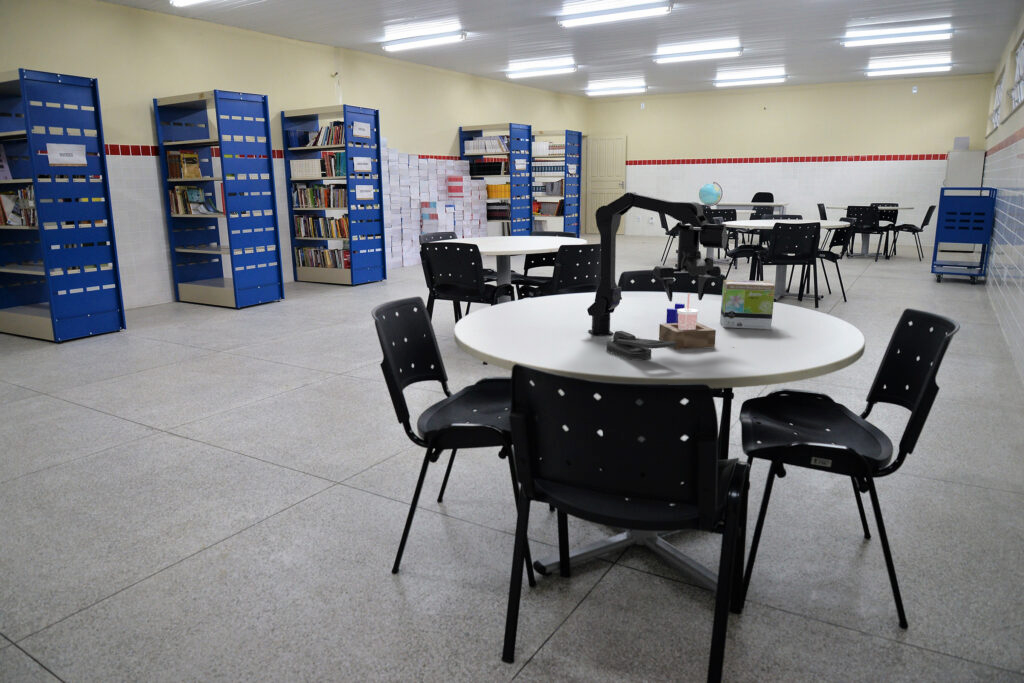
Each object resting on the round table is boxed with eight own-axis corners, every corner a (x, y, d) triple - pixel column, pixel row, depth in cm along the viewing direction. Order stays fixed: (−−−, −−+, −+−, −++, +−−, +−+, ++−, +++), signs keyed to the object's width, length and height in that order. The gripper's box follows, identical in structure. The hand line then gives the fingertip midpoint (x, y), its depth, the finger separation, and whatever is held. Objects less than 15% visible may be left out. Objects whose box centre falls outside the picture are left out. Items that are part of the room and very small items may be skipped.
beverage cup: (698, 338, 201) (701, 292, 198) (694, 343, 196) (697, 295, 192) (677, 337, 204) (680, 291, 200) (673, 341, 198) (675, 294, 195)
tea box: (723, 328, 220) (726, 283, 217) (719, 322, 230) (722, 279, 226) (771, 330, 217) (775, 284, 214) (766, 323, 227) (769, 280, 224)
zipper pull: (650, 345, 170) (602, 326, 193) (649, 370, 171) (602, 349, 194) (680, 342, 173) (629, 324, 196) (679, 367, 175) (629, 346, 197)
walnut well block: (658, 340, 204) (659, 323, 203) (695, 338, 207) (696, 322, 205) (675, 349, 193) (676, 332, 192) (714, 347, 195) (715, 330, 194)
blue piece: (670, 320, 235) (671, 303, 234) (683, 321, 233) (684, 303, 232) (661, 326, 225) (662, 308, 223) (675, 327, 223) (676, 309, 221)
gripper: (669, 250, 184) (666, 306, 188) (732, 249, 188) (728, 304, 191) (653, 246, 195) (651, 300, 198) (713, 245, 198) (709, 297, 202)
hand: (685, 300), depth 197 cm, fingers open, 9 cm apart
